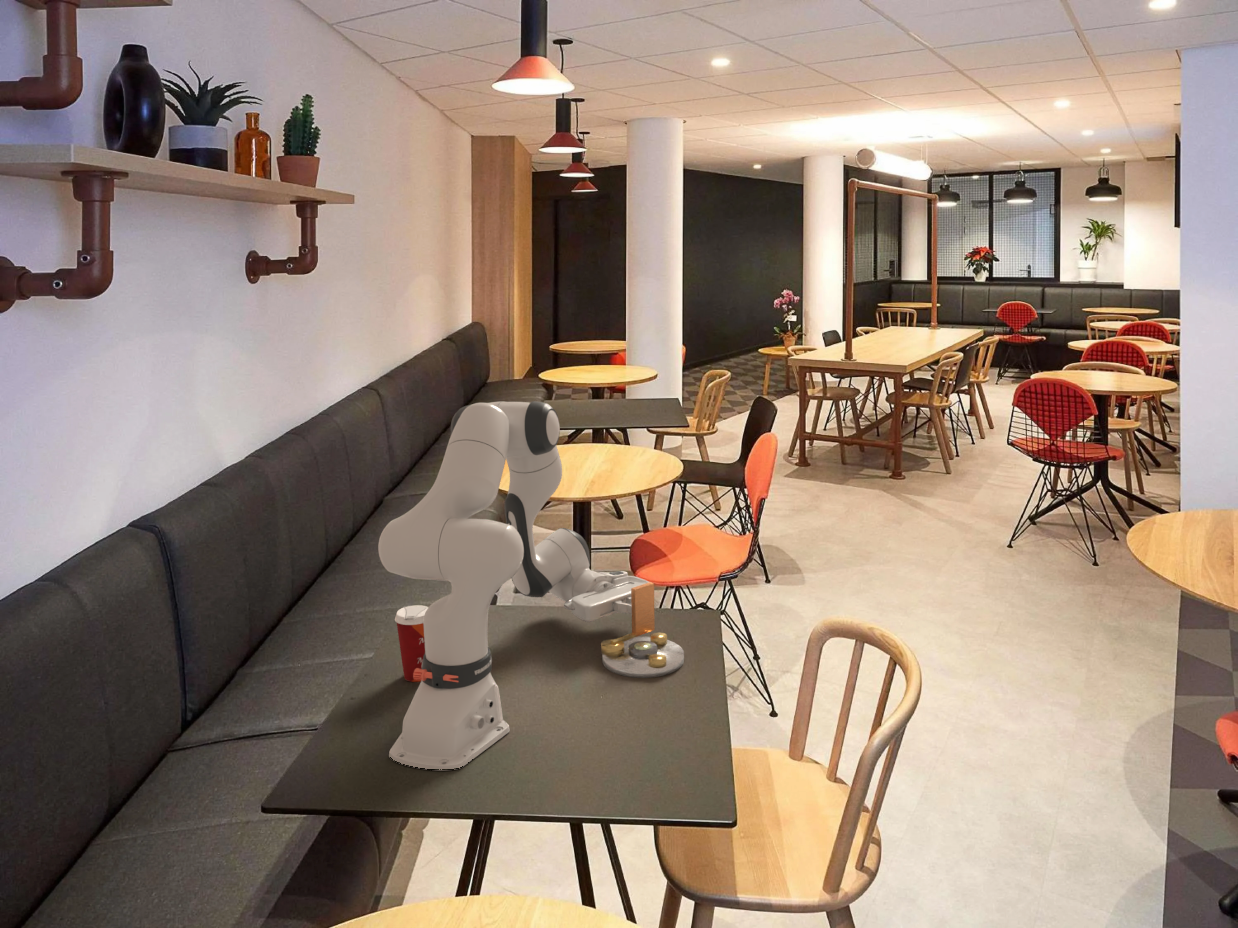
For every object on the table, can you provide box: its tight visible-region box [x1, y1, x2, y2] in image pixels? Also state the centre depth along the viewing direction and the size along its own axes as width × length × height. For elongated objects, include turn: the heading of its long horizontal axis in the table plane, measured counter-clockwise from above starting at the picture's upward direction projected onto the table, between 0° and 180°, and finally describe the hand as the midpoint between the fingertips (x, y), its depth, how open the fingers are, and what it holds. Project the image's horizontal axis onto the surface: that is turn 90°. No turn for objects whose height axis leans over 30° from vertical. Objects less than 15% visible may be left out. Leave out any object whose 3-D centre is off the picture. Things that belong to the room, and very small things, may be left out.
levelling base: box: [601, 632, 685, 679], centre depth 199 cm, size 17×17×3 cm
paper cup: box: [394, 604, 429, 683], centre depth 192 cm, size 8×8×14 cm
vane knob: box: [600, 581, 656, 656], centre depth 201 cm, size 14×5×12 cm, turn 131°
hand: (637, 609), depth 204 cm, fingers closed
